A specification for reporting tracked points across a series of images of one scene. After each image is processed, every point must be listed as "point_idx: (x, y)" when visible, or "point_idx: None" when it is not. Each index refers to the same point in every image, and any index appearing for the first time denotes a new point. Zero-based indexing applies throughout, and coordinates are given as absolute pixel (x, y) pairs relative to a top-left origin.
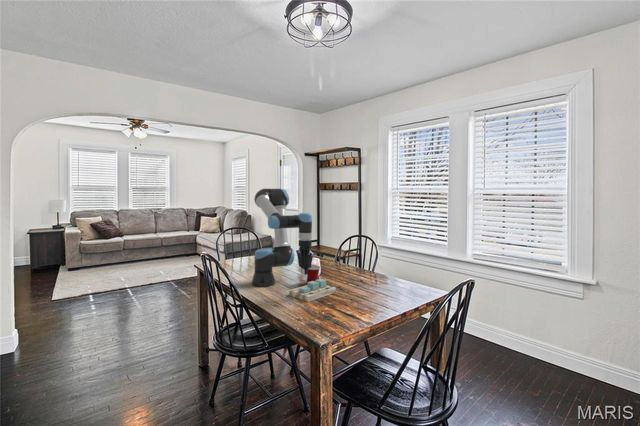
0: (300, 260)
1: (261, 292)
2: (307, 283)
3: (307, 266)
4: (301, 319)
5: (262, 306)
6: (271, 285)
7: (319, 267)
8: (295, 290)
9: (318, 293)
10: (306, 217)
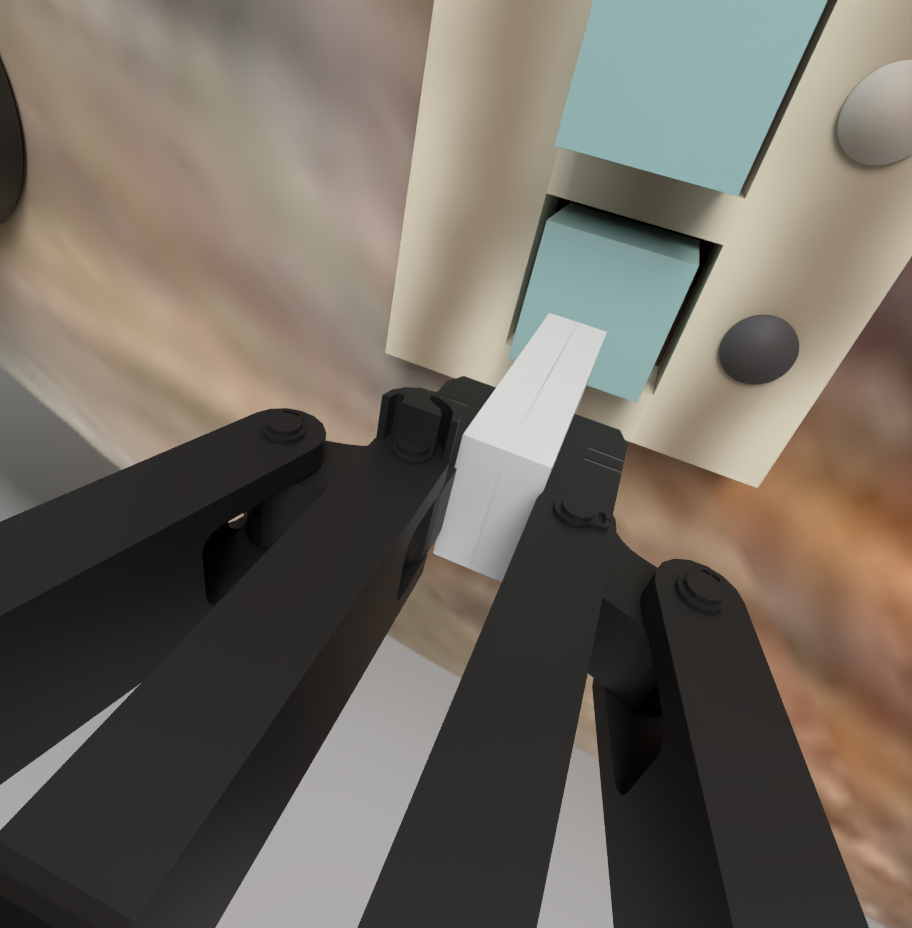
0: (126, 650)
1: (154, 370)
2: (564, 147)
3: (643, 744)
4: (843, 813)
5: (412, 644)
6: (12, 97)
7: None
8: (456, 320)
9: (897, 273)
10: None
